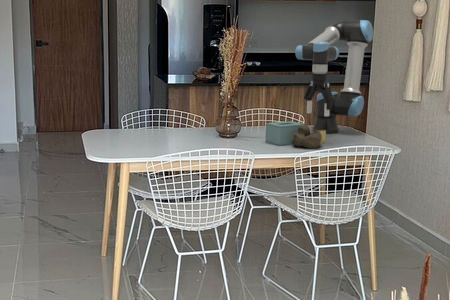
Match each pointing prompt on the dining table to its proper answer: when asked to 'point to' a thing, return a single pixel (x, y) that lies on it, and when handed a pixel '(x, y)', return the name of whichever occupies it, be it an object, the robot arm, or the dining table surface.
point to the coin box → (281, 132)
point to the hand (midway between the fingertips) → (317, 114)
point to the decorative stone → (307, 137)
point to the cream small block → (323, 136)
